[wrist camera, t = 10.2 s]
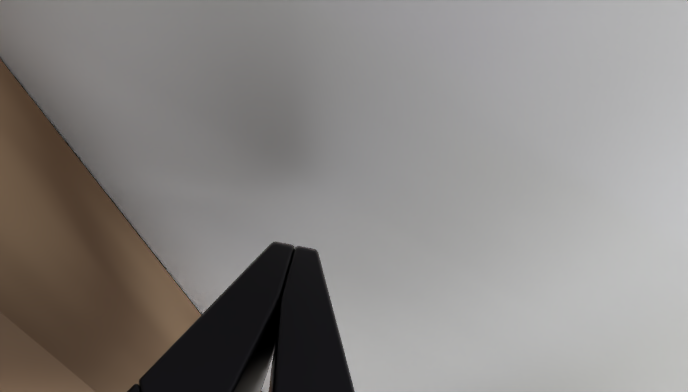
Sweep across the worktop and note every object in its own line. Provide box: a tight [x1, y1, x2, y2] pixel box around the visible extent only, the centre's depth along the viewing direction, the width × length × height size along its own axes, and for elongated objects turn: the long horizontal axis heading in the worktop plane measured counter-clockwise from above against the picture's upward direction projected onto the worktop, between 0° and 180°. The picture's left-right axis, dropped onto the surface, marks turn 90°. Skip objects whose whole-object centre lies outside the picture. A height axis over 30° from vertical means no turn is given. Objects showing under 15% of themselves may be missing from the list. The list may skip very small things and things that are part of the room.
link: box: [0, 59, 261, 392], centre depth 11 cm, size 18×6×3 cm, turn 17°
